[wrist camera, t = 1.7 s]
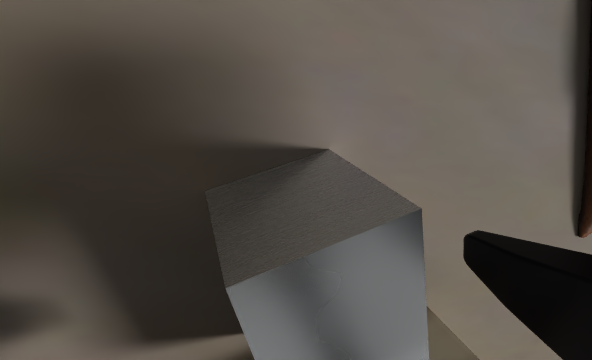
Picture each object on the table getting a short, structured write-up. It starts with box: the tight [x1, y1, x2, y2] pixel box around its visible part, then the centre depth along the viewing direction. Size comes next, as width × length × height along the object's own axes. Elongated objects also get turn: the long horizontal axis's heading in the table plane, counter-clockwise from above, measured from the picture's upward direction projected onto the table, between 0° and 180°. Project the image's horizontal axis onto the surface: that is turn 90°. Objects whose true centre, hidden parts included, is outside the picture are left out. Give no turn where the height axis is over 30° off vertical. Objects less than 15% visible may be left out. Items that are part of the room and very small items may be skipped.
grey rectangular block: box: [205, 149, 429, 360], centre depth 9 cm, size 6×4×4 cm, turn 12°
